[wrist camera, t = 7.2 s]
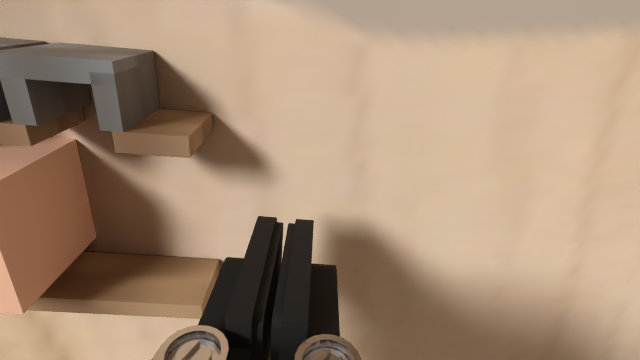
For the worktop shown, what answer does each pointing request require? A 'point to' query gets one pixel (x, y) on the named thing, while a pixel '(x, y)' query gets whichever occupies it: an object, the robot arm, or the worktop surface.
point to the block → (40, 218)
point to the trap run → (128, 137)
